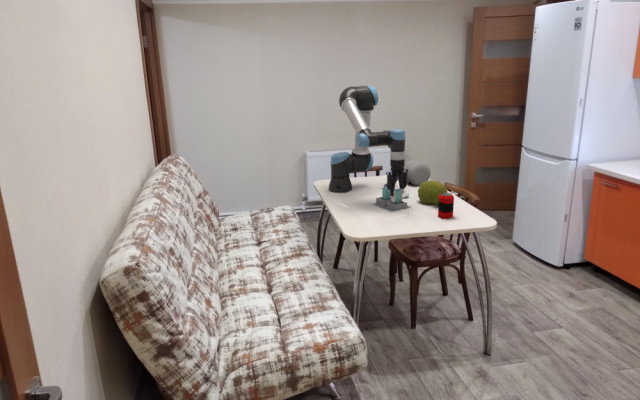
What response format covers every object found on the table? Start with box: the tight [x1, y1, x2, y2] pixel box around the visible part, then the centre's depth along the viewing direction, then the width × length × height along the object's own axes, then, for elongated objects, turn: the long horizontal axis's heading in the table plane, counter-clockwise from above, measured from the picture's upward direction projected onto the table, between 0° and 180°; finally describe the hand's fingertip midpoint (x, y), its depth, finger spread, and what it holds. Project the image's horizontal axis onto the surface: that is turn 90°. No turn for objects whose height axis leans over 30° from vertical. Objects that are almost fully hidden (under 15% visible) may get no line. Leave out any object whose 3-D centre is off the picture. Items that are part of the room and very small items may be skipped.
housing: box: [372, 196, 412, 213], centre depth 260 cm, size 18×14×4 cm
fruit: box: [417, 179, 448, 206], centre depth 262 cm, size 16×14×15 cm
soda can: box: [437, 192, 455, 220], centre depth 241 cm, size 8×8×12 cm
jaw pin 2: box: [393, 189, 401, 204], centre depth 255 cm, size 4×4×9 cm
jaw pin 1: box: [381, 186, 390, 201], centre depth 263 cm, size 4×4×9 cm
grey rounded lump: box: [404, 159, 431, 187], centre depth 310 cm, size 19×15×25 cm
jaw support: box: [390, 182, 410, 200], centre depth 275 cm, size 12×9×10 cm
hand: (396, 200), depth 256 cm, fingers closed on jaw pin 2, 4 cm apart
